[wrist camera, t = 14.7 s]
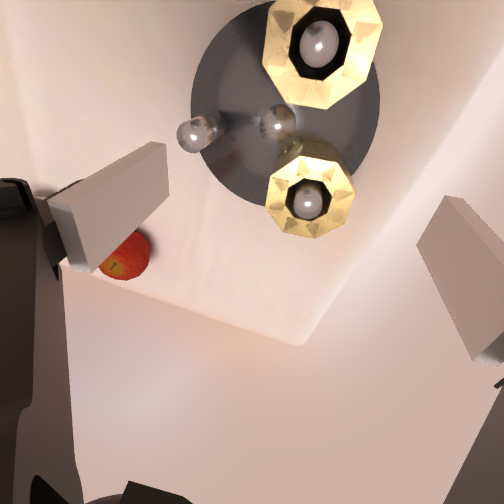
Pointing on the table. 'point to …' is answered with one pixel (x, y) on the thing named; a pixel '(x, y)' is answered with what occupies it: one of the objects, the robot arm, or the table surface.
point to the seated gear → (353, 56)
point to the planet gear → (317, 168)
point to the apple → (127, 258)
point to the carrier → (272, 110)
